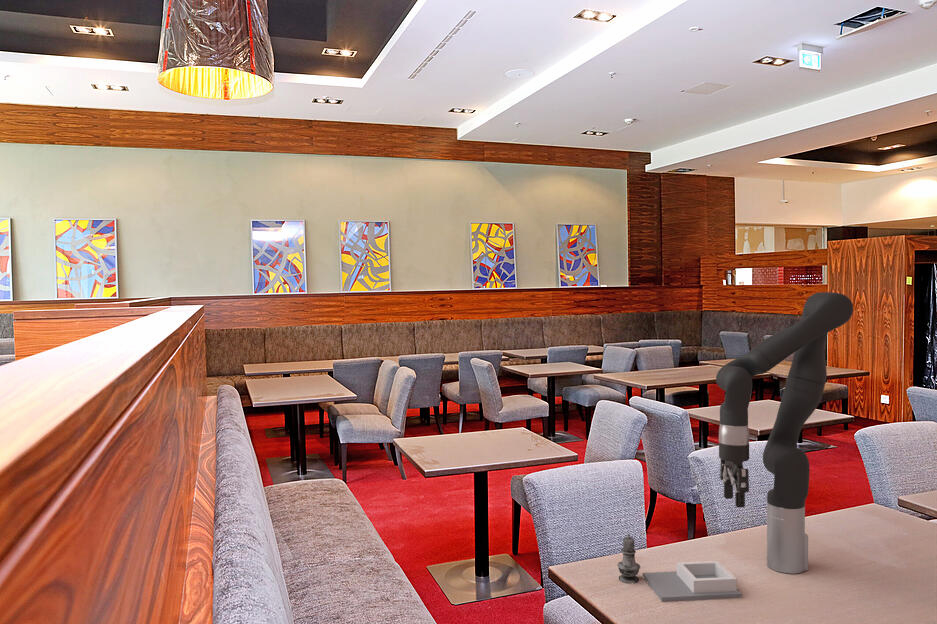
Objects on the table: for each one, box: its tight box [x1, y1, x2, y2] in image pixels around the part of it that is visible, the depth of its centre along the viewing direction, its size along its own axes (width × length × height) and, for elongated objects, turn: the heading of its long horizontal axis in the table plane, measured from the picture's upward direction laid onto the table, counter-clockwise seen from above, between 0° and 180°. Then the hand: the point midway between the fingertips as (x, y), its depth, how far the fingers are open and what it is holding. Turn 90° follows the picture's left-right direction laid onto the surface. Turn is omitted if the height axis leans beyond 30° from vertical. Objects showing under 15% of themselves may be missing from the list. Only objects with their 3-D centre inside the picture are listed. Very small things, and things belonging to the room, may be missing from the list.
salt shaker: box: [616, 533, 641, 585], centre depth 176 cm, size 6×6×12 cm
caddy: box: [642, 560, 743, 602], centre depth 171 cm, size 20×14×4 cm
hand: (734, 502), depth 179 cm, fingers open, 8 cm apart
